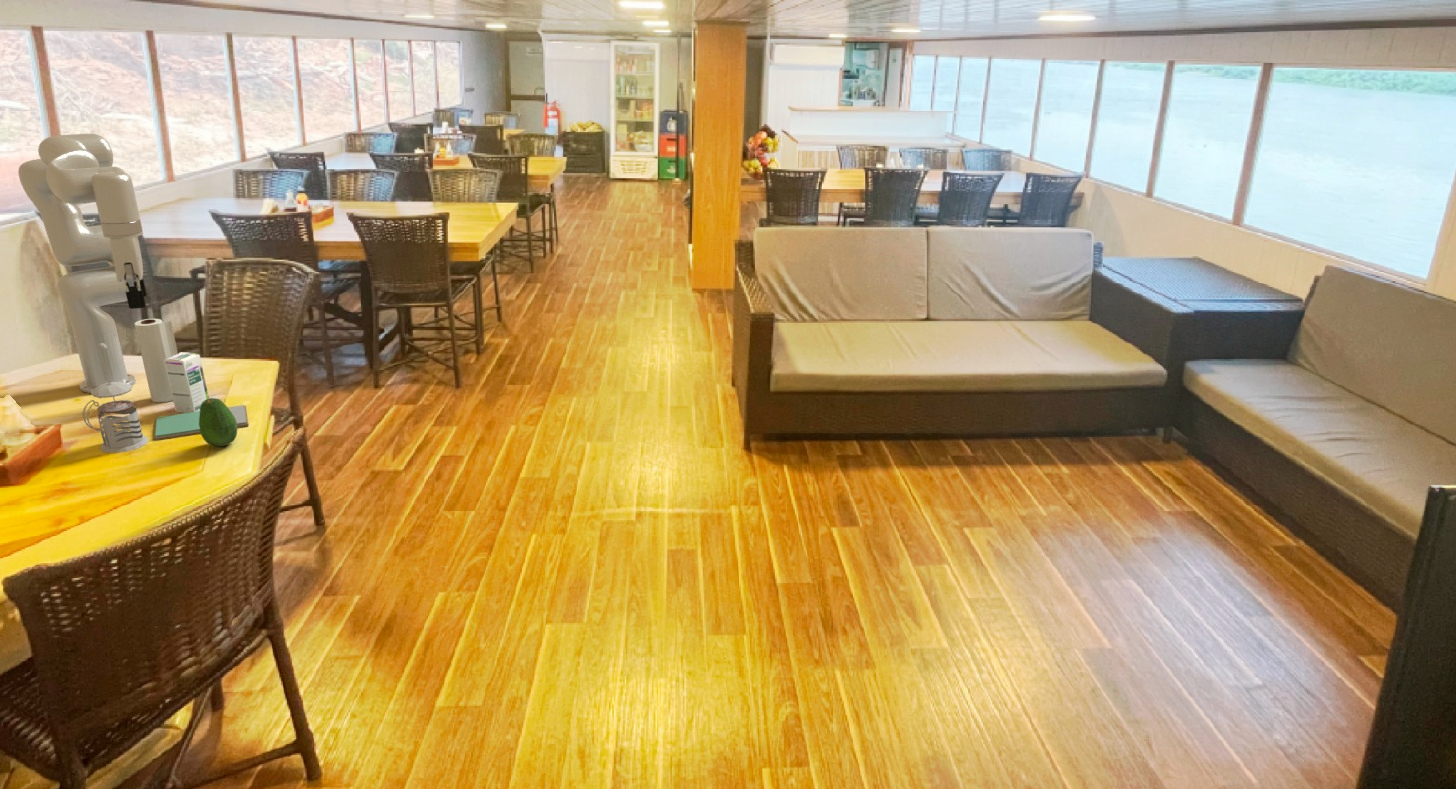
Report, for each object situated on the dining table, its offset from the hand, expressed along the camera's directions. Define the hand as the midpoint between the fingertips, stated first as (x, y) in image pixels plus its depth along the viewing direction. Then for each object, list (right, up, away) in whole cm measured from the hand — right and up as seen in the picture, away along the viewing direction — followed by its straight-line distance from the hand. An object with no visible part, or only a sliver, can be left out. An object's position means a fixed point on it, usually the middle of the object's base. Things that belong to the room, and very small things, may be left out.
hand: (138, 302), depth 209 cm
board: (+6, -29, +16) cm, 33 cm away
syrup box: (-1, -25, +24) cm, 35 cm away
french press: (-6, -34, +3) cm, 34 cm away
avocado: (+17, -34, +5) cm, 38 cm away
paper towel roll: (-11, -23, +29) cm, 39 cm away
